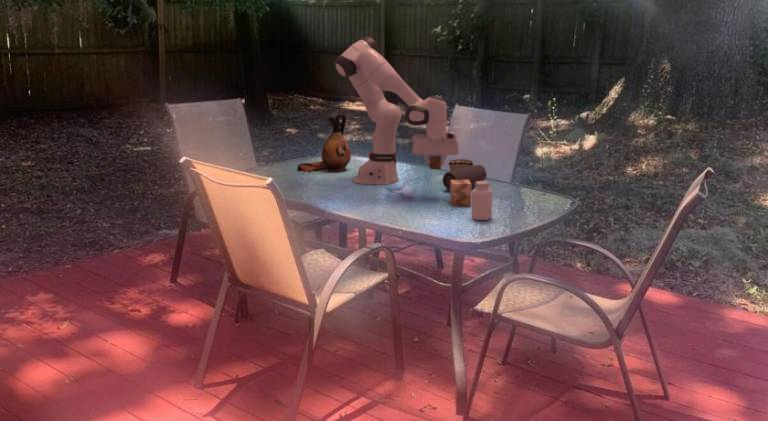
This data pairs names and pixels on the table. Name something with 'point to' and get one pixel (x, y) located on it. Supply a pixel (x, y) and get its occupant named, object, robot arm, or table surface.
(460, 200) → the block
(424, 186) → the table surface
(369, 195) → the table surface
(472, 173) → the bluetooth speaker
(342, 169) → the ceramic jug
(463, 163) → the brown half-round wedge
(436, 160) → the walnut block
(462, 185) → the tower top
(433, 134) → the robot arm
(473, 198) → the pill bottle
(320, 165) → the sunglasses case
